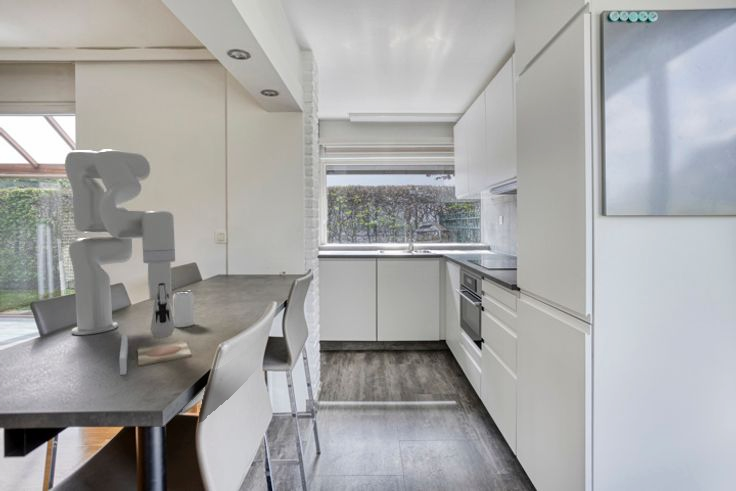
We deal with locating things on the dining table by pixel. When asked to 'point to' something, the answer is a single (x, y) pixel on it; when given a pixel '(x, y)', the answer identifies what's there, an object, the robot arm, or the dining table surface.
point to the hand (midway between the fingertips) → (162, 322)
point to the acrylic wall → (123, 355)
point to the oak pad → (163, 352)
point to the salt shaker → (162, 324)
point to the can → (183, 309)
